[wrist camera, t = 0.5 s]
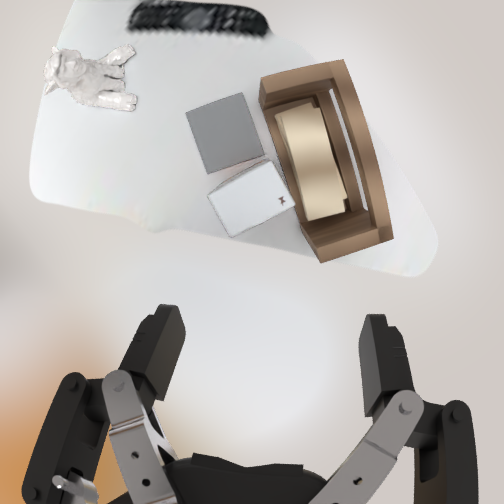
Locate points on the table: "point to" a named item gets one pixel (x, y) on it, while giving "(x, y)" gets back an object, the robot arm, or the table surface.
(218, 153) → the grey mat
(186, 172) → the table surface
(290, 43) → the table surface
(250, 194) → the skincare box
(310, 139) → the offcut stack
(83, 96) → the sitting furry creature
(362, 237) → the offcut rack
